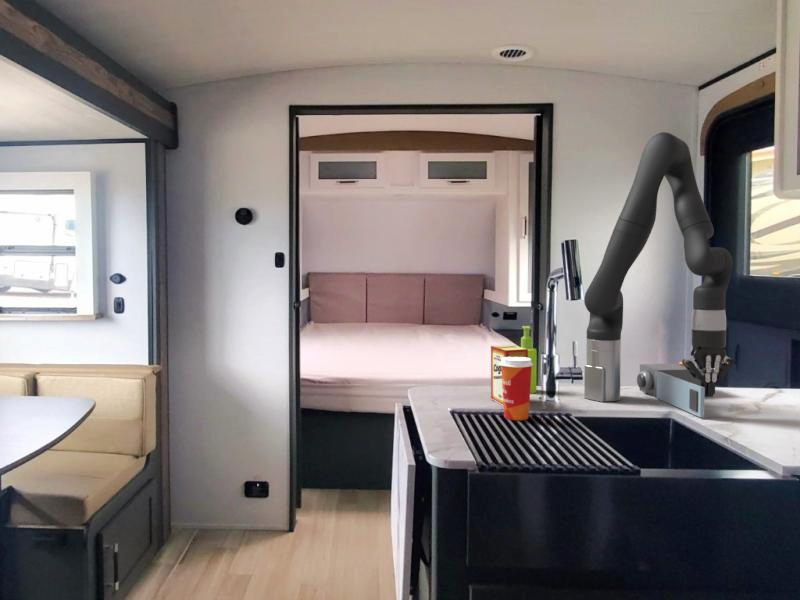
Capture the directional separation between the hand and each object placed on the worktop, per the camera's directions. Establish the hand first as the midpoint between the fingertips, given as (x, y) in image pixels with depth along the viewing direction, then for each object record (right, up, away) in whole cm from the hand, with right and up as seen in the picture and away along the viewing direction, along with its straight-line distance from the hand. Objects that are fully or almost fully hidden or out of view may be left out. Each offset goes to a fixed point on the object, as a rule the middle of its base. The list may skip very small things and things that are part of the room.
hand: (707, 396), depth 137 cm
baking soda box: (-46, -5, +17) cm, 50 cm away
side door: (-3, -4, +9) cm, 10 cm away
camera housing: (+3, -4, +26) cm, 26 cm away
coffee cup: (-48, -6, +1) cm, 48 cm away
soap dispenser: (-38, -4, +31) cm, 50 cm away
